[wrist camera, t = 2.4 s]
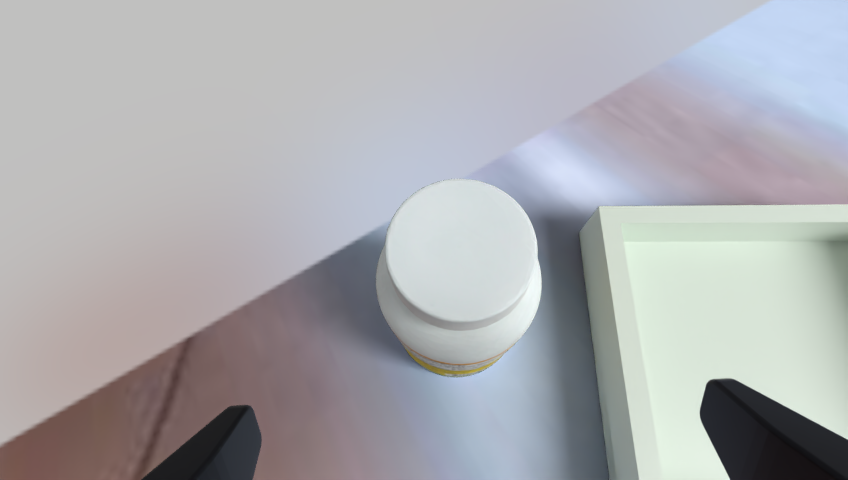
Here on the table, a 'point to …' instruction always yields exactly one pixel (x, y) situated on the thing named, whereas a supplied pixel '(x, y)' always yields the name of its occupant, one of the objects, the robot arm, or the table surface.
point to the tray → (712, 323)
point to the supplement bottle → (459, 276)
